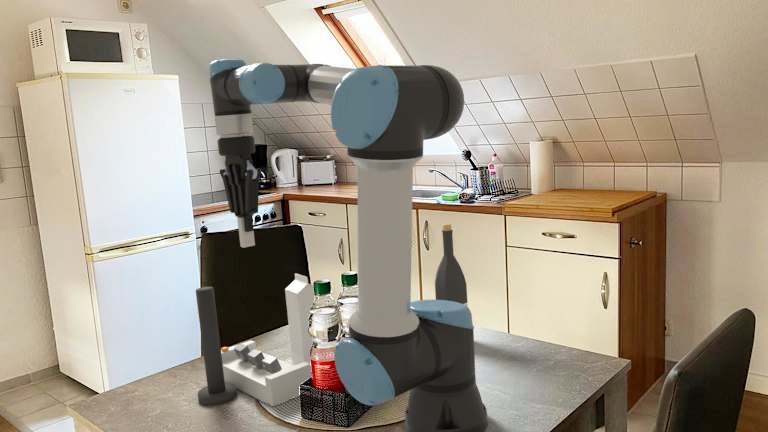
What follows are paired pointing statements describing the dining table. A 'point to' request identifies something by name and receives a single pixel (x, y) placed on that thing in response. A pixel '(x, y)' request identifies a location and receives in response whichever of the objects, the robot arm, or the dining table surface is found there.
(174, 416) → the dining table surface
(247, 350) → the paddle bank
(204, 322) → the post
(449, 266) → the wine bottle
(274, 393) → the strip
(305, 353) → the milk
